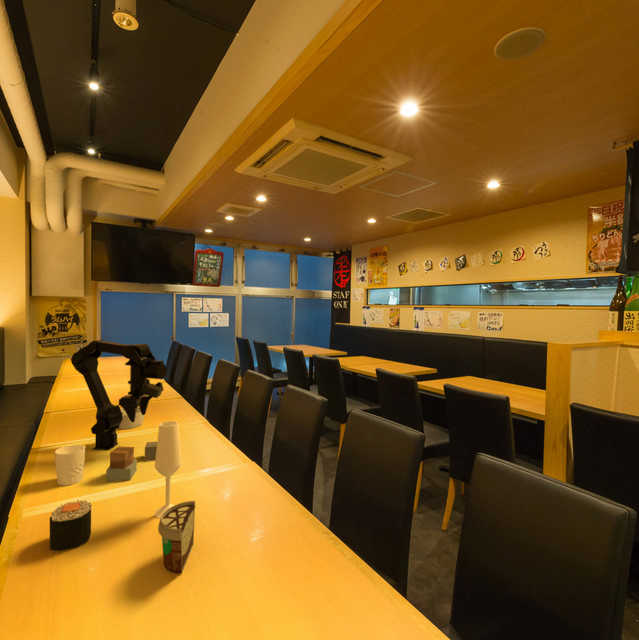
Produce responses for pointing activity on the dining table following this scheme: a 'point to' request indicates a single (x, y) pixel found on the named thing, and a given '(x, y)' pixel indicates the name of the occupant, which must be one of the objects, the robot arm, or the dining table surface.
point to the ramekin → (127, 423)
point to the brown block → (150, 451)
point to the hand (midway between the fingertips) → (138, 418)
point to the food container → (177, 535)
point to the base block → (121, 473)
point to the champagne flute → (167, 457)
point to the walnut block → (121, 457)
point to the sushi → (70, 525)
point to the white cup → (69, 464)
